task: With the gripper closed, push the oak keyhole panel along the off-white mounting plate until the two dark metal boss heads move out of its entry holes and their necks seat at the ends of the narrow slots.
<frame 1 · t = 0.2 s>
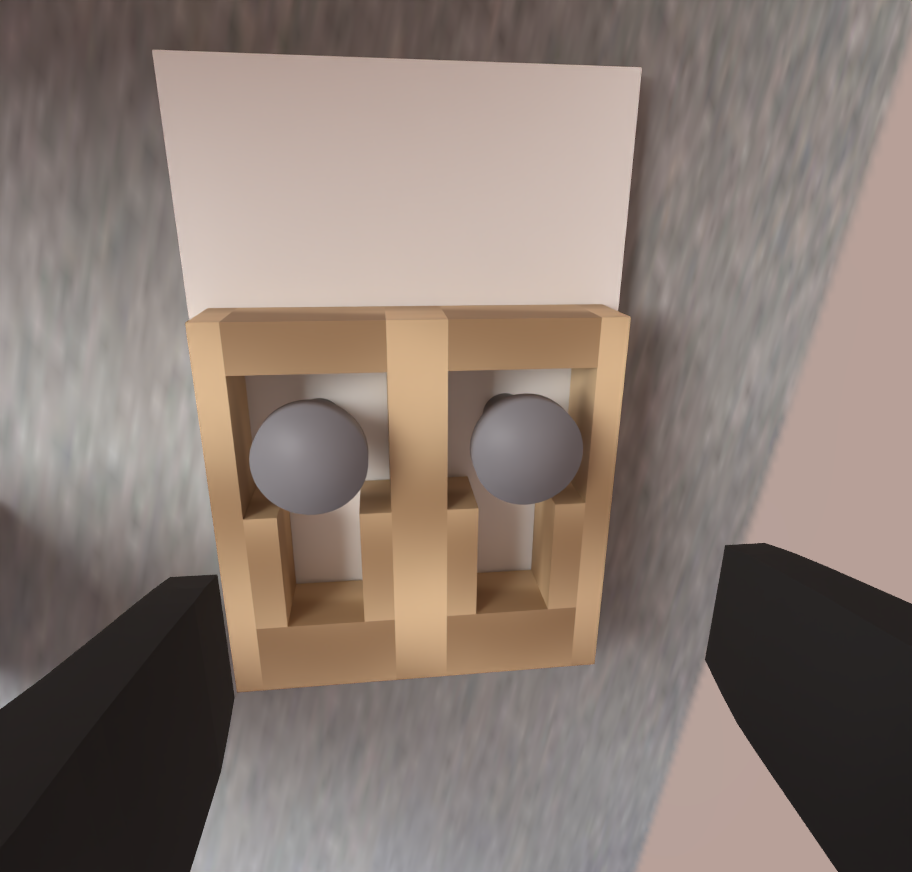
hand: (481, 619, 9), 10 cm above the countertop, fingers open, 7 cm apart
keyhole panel: (417, 500, 17), point 2 cm above the countertop, slide at 4.0 cm
mounting plate: (411, 407, 18), on the countertop
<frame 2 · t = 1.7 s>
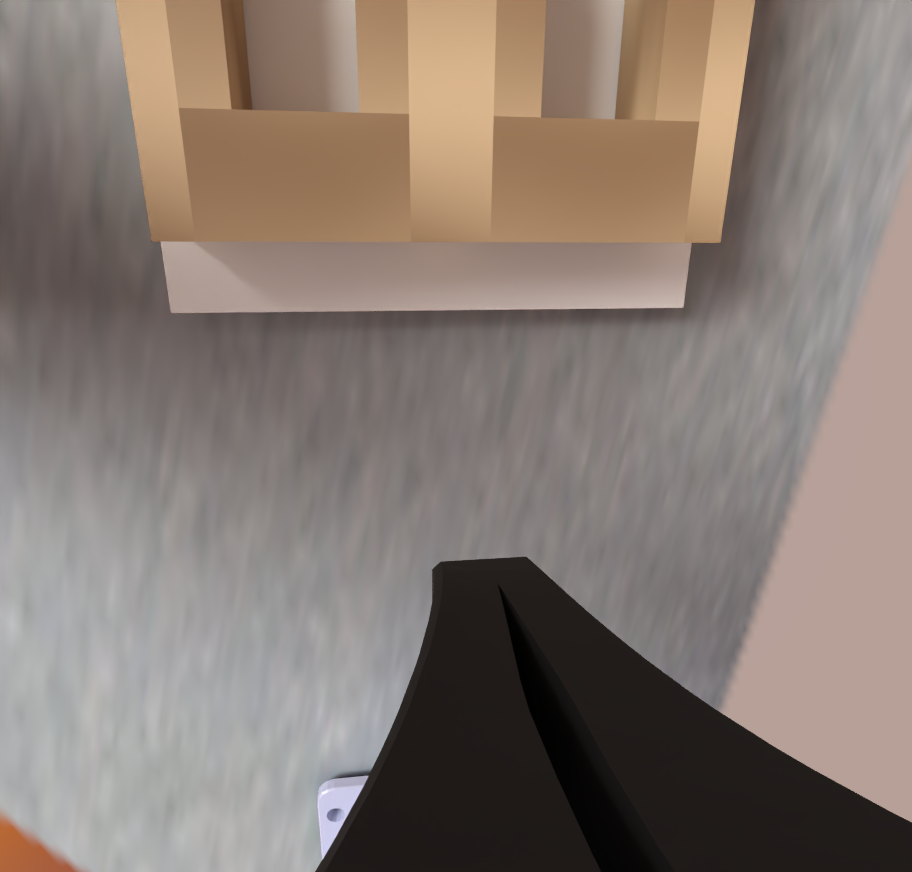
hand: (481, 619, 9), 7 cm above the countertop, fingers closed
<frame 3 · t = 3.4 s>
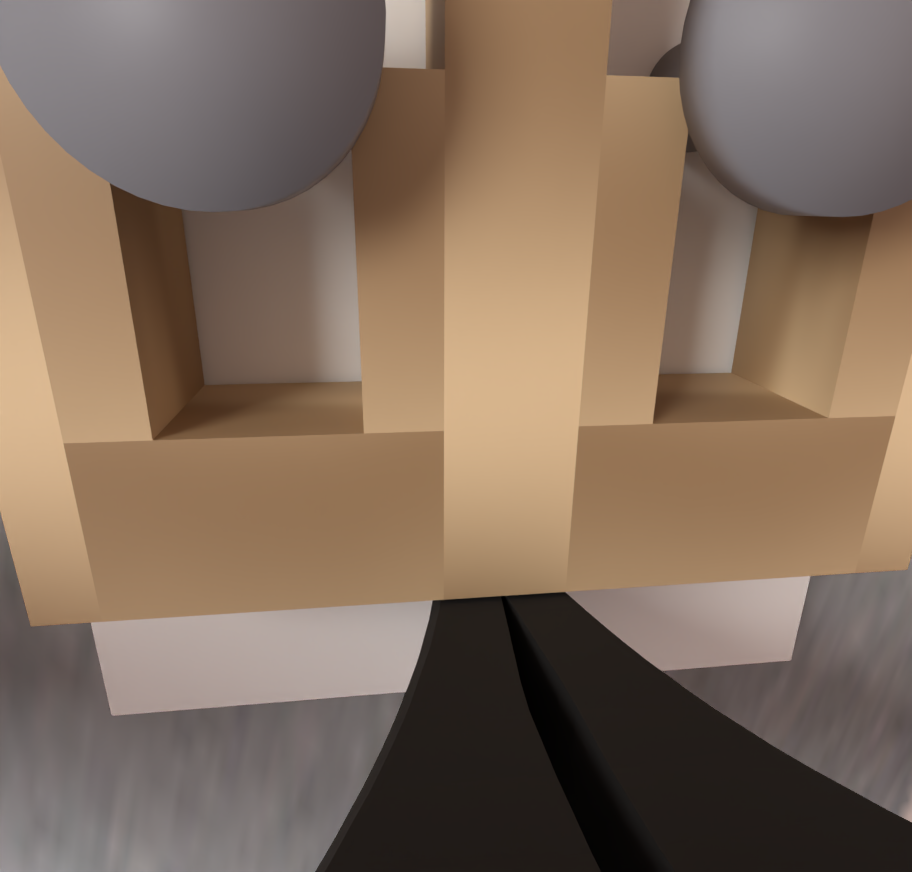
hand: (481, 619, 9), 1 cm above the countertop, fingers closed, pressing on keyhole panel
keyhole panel: (503, 114, 6), point 2 cm above the countertop, slide at 2.4 cm, touching gripper
mounting plate: (475, 101, 8), on the countertop
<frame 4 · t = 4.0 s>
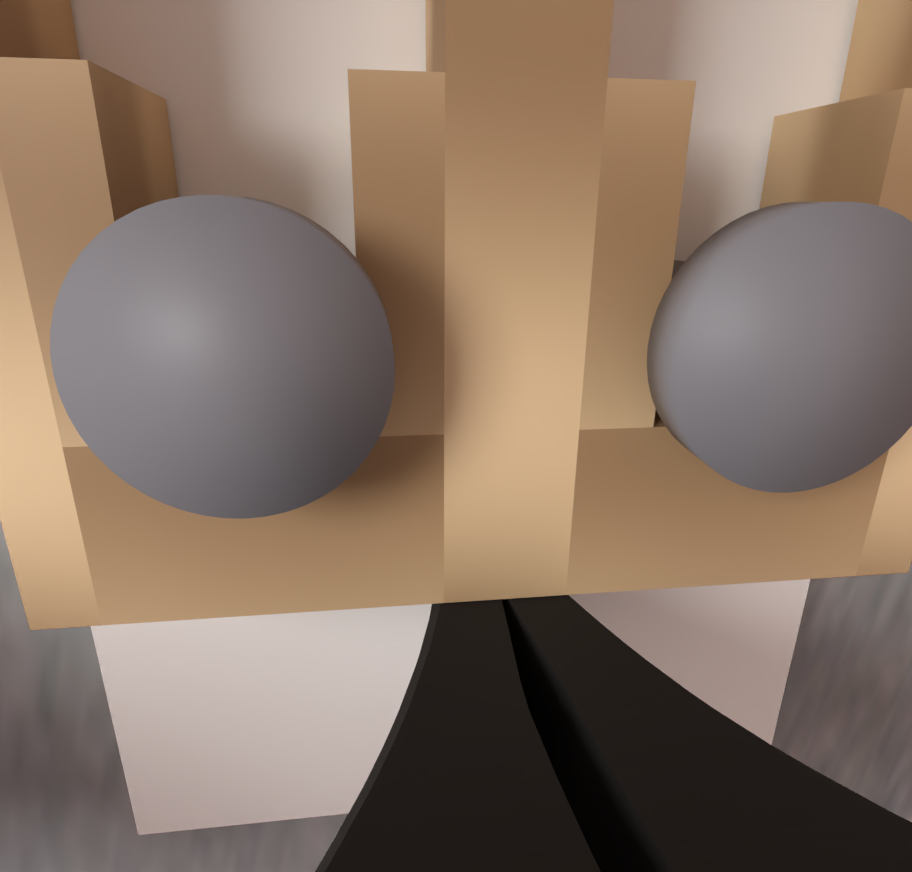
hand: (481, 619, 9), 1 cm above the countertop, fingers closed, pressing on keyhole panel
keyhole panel: (503, 116, 6), point 2 cm above the countertop, slide at -0.1 cm, touching gripper
mounting plate: (472, 299, 9), on the countertop
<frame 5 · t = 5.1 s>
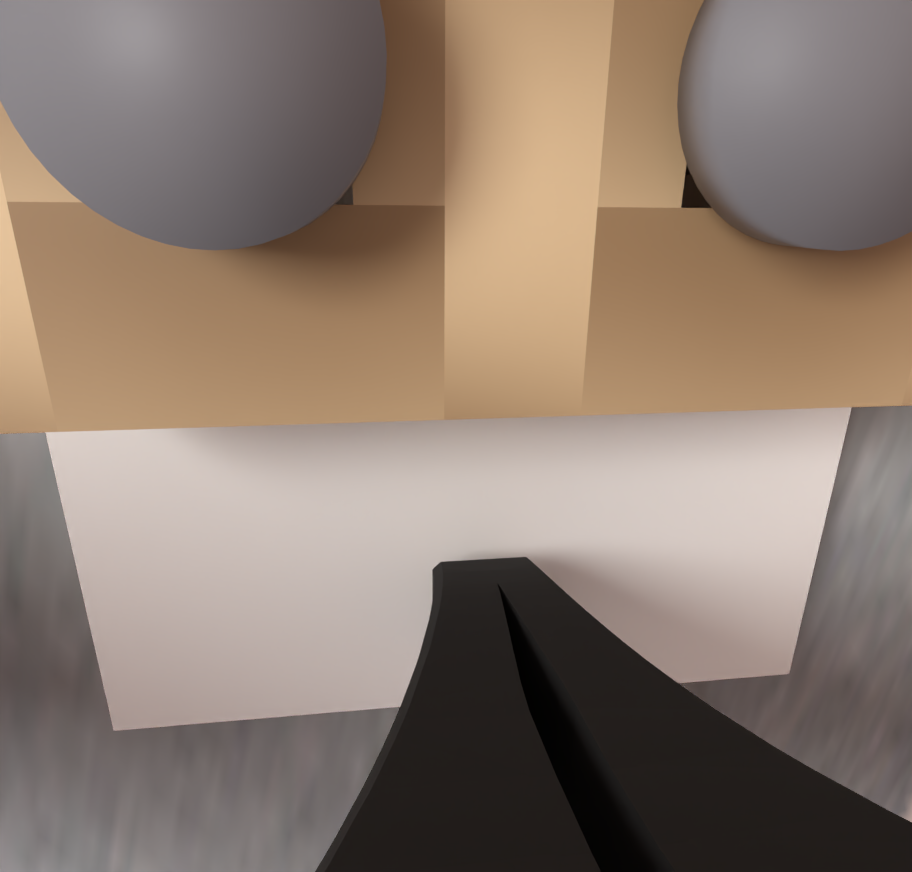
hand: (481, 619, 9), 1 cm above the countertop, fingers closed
mounting plate: (475, 123, 8), on the countertop
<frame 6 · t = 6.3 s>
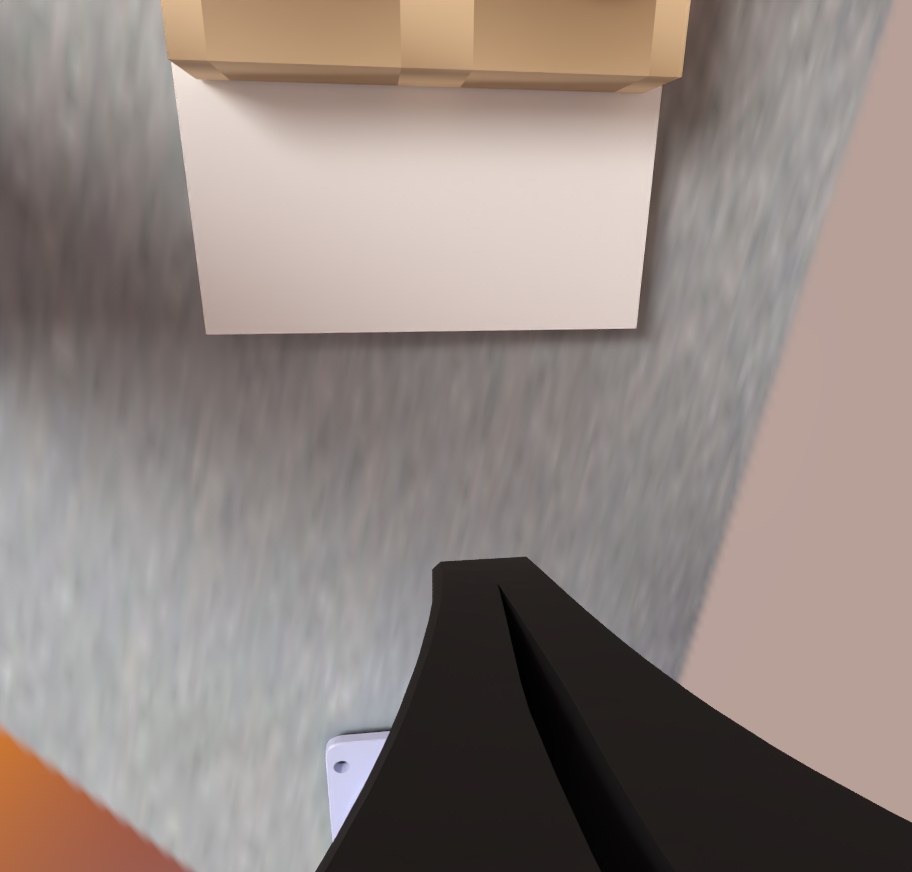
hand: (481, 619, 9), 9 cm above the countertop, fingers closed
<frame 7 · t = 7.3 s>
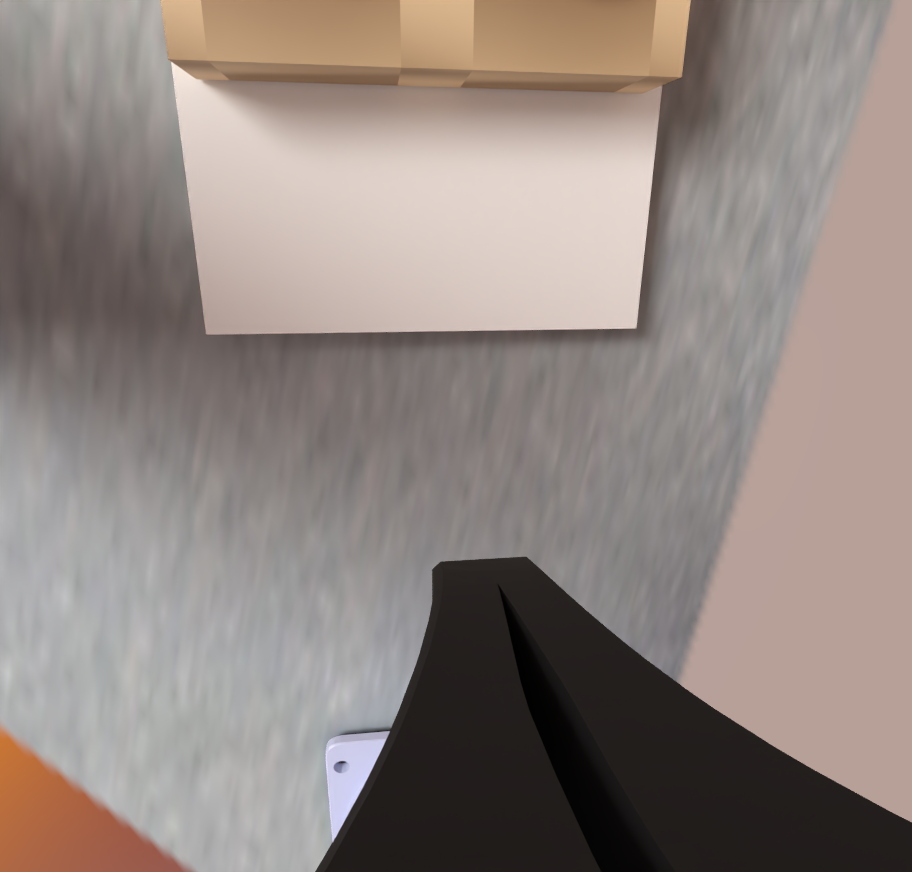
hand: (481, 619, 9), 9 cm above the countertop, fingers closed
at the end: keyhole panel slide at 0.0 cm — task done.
